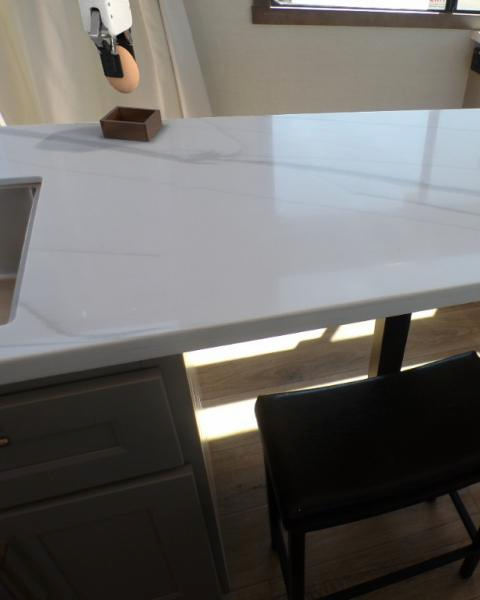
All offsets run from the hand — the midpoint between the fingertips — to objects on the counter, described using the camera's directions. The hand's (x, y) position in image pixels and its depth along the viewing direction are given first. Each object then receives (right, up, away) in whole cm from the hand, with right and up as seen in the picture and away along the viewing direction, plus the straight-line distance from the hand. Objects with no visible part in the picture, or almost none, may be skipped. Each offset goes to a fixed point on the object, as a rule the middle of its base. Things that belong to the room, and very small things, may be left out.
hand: (121, 71), depth 96 cm
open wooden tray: (-1, -9, +7) cm, 12 cm away
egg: (0, -3, +3) cm, 4 cm away
